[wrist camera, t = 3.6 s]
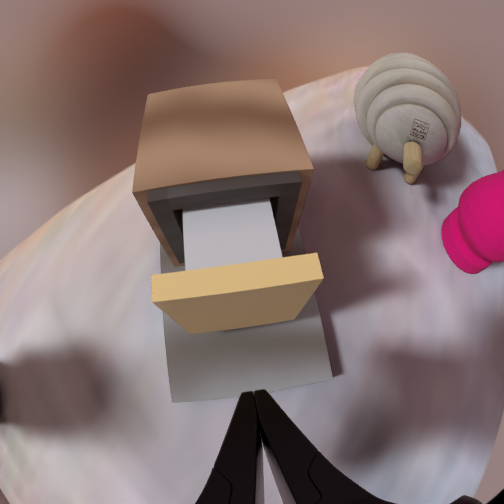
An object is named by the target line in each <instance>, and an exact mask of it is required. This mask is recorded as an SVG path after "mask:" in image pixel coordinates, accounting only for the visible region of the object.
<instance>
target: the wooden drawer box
mask: <svg viewBox="0 0 504 504" xmlns="http://www.w3.org/2000/svg"><path fill="white" fill-rule="evenodd" d="M313 171H314V168H313V165H312V162H311V160H310V157H309V155H308V152H307V149H306V147H305V144H304V142H303V139H302V137H301V134H300V132H299V130H298V127H297V125H296V122H295V120H294V118H293V115H292V113H291V111H290V108H289V106H288V104H287V102H286V99H285V97H284V95H283V93H282V91H281V88H280V86H279V84H278V82H277V80H276V79H259V80H244V81H231V82H221V83H213V84H205V85H198V86H191V87H184V88H179V89H173V90H167V91H163V92H157V93H153V94H149V95H148V98H147V103H146V108H145V112H144V118H143V123H142V128H141V134H140V140H139V147H138V153H137V159H136V166H135V174H134V182H133V191H132V193H133V195H134V197H135V198H136V200H137V202H138V204H139V206H140V208H141V209H142V211H143V213H144V215H145V217H146V218H147V220H148V222H149V224H150V226H151V227H152V229H153V231H154V233H155V234H156V236H157V238H158V240H159V241H160V257H161V274H165V273H172V272H180V271H185V255H184V236H183V211H182V209H185V208H191V207H198V206H205V205H212V204H220V203H227V202H235V201H243V200H251V199H260V198H269V199H270V204H271V208H272V212H273V217H274V221H275V226H276V230H277V235H278V239H279V244H280V248H281V253H282V257H290V256H297V255H304V254H305V250H304V246H303V242H302V238H301V234H300V230H299V226H298V224H299V220H300V217H301V213H302V210H303V207H304V203H305V200H306V196H307V192H308V189H309V185H310V182H311V178H312V174H313ZM163 322H164V335H165V346H166V356H167V366H168V374H169V383H170V390H171V398H172V402H188V401H202V400H213V399H223V398H232V397H240V395H241V393H242V392H247V391H253V393H254V391H255V390H260V389H265V390H266V391H267V392H273V391H278V390H284V389H289V388H294V387H299V386H304V385H309V384H313V383H317V382H322V381H326V380H330V379H333V377H332V371H331V366H330V361H329V356H328V351H327V346H326V341H325V336H324V331H323V327H322V322H321V317H320V313H319V308H318V304H317V299H316V295H315V292H314V293H313V294H312V296H311V297H310V299H309V300H308V301H307V303H306V304H305V306H304V307H303V308H302V310H301V311H300V312H299V314H298V315H297V317H296V318H295V319H294V320H289V321H283V322H277V323H271V324H265V325H258V326H252V327H245V328H238V329H230V330H223V331H215V332H206V333H198V334H190V333H189V332H187V331H186V330H185V329H184V328H182V327H181V326H180V325H179V324H178V323H176V322H175V321H174V320H173V319H171V318H170V317H169V316H168V315H167V314H166V313H164V312H163Z"/></svg>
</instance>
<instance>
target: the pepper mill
mask: <svg viewBox="0 0 504 504" xmlns="http://www.w3.org/2000/svg"><path fill="white" fill-rule="evenodd" d="M442 240H443V244H444V247H445V249H446V252H447V253H448V255H449V257H450V259H451V260H452V261H453V262H454V263H455V265H456V266H457V267H458V268H460V269H461V270H463V271H464V272H466V273H470V274H476V273H479V272H480V271H482V270H483V269H485V268H486V267H488V266H489V265H490V264H491V263H492V262H503V261H504V170H503V171H500V172H498V173H494V174H491V175H488V176H485V177H482V178H480V179H478V180H476V181H474V182H473V183H471V184H470V185H469V186H468V187H467V188H466V189H465V190H464V191H463V193H462V194H461V196H460V199H459V204H458V207H457V208H456V209H454V210H453V211H452V212H451V213H450V214H449V215H448V217H447V218H446V219H445V220H444V222H443V225H442Z"/></svg>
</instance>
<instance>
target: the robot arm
mask: <svg viewBox="0 0 504 504" xmlns="http://www.w3.org/2000/svg"><path fill="white" fill-rule="evenodd" d="M261 438H262V439H261ZM262 443H263V447H264V450H265V453H266V456H267V459H268V462H269V465H270V467H271V470H272V473H273V476H274V479H275V481H276V484H277V487H278V490H279V492H280V495H281V498H282V500H283V503H284V504H395V503H392V502H388V501H385V500H382V499H380V498H377V497H376V496H374V495H372V494H370V493H369V492H367V491H366V490H365V489H363V488H362V487H360V486H359V485H358V484H356V483H355V482H353V481H352V480H351V479H349V478H348V477H347V476H345V475H344V474H343V473H342V472H340V471H339V470H338V469H337V468H336V467H334V466H333V465H332V464H331V463H330V462H329V461H328V460H327V459H326V458H325V457H324V456H323V455H322V454H321V453H320V452H319V451H318V450H317V448H316V447H315V446H314V445H313V444H312V443H311V442H310V441H309V440H308V439H307V437H306V436H305V435H304V434H303V433H302V432H301V431H300V430H299V428H298V427H297V426H296V425H295V424H294V423H293V421H292V420H291V419H290V418H289V417H288V416H287V415H286V413H285V412H284V411H283V410H282V409H281V407H280V406H279V405H278V404H277V403H276V401H275V400H274V399H273V398H272V397H271V395H270V394H269V393H268V392H267V391H266V390H265V389H260V390H255V391H254V393H253V391H247V392H242V393H241V395H240V398H239V400H238V403H237V406H236V409H235V411H234V414H233V417H232V419H231V422H230V425H229V428H228V430H227V433H226V435H225V438H224V441H223V443H222V446H221V449H220V451H219V454H218V456H217V459H216V461H215V464H214V467H213V469H212V471H211V474H210V476H209V478H208V481H207V483H206V485H205V487H204V489H203V491H202V493H201V494H200V496H199V498H198V500H197V501H196V503H195V504H264V477H263V448H262ZM450 504H482V503H481V502H480V501H479V500H476V499H474V498H472V497H469V496H466V495H463V496H461V497H460V498H458V499H457V500H455V501H454V502H452V503H450ZM486 504H504V489H503V490H501V491H500V492H499V493H498V494H497V495H496V496H494V497H493V498H492V499H491V500H490V501H488V502H487V503H486Z"/></svg>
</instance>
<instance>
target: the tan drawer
mask: <svg viewBox="0 0 504 504" xmlns="http://www.w3.org/2000/svg"><path fill="white" fill-rule="evenodd" d="M182 211H183V236H184V255H185V271H180V272H172V273H165V274H157V275H151V278H152V302H153V303H154V304H155V305H156V306H157V307H159V308H160V309H161V310H162V311H163V312H164V313H166V314H167V315H168V316H169V317H170V318H171V319H173V320H174V321H175V322H176V323H178V324H179V325H180V326H181V327H182V328H184V329H185V330H186V331H187V332H189V333H190V334H198V333H206V332H215V331H223V330H230V329H238V328H245V327H252V326H258V325H265V324H271V323H277V322H283V321H289V320H294V319H295V318H296V317H297V315H298V314H299V312H300V311H301V310H302V308H303V307H304V306H305V304H306V303H307V301H308V300H309V299H310V297H311V296H312V294H313V293H314V292H315V290H316V289H317V287H318V286H319V284H320V283H321V282H322V280H323V279H324V277H323V273H322V269H321V265H320V261H319V258H318V254H317V253H311V254H304V255H297V256H290V257H282V253H281V248H280V244H279V239H278V235H277V230H276V226H275V221H274V217H273V212H272V208H271V204H270V199H269V198H260V199H251V200H243V201H235V202H227V203H220V204H212V205H205V206H198V207H191V208H185V209H182Z"/></svg>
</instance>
